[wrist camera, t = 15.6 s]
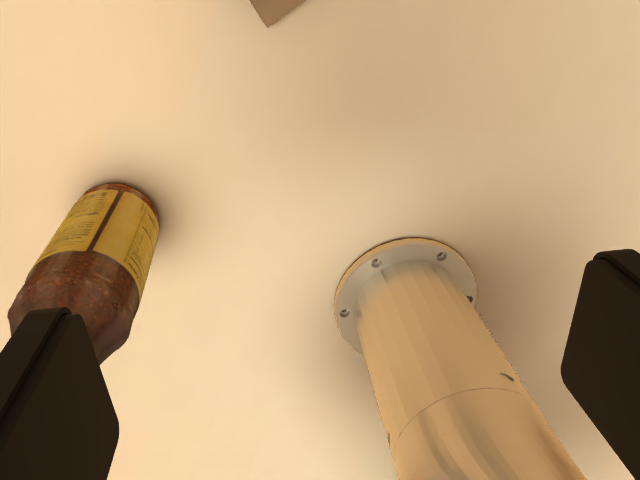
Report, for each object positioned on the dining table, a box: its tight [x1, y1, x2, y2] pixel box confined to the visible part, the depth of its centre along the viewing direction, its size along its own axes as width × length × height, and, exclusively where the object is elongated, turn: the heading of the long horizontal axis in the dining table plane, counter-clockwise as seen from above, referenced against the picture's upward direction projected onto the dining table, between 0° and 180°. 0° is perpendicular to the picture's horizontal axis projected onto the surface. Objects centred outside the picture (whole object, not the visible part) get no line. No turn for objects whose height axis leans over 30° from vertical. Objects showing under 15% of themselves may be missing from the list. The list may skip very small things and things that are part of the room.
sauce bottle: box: [8, 183, 159, 365], centre depth 29 cm, size 7×6×20 cm
